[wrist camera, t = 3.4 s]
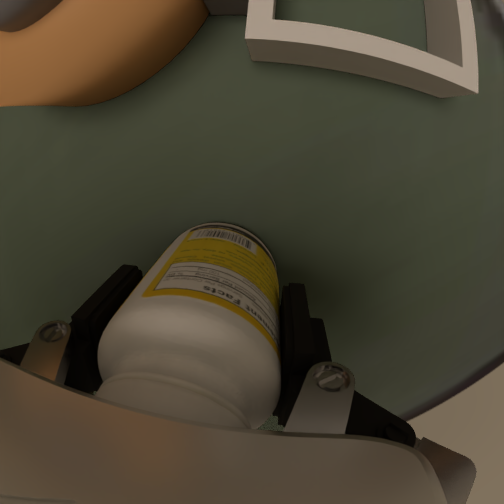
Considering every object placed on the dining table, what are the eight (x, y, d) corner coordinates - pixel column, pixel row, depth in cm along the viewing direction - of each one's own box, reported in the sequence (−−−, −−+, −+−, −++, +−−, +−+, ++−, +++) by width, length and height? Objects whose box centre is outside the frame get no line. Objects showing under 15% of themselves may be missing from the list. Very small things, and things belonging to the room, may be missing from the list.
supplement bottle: (205, 335, 15) (153, 506, 6) (146, 252, 14) (16, 401, 5) (298, 297, 14) (317, 497, 5) (242, 197, 12) (166, 361, 3)
